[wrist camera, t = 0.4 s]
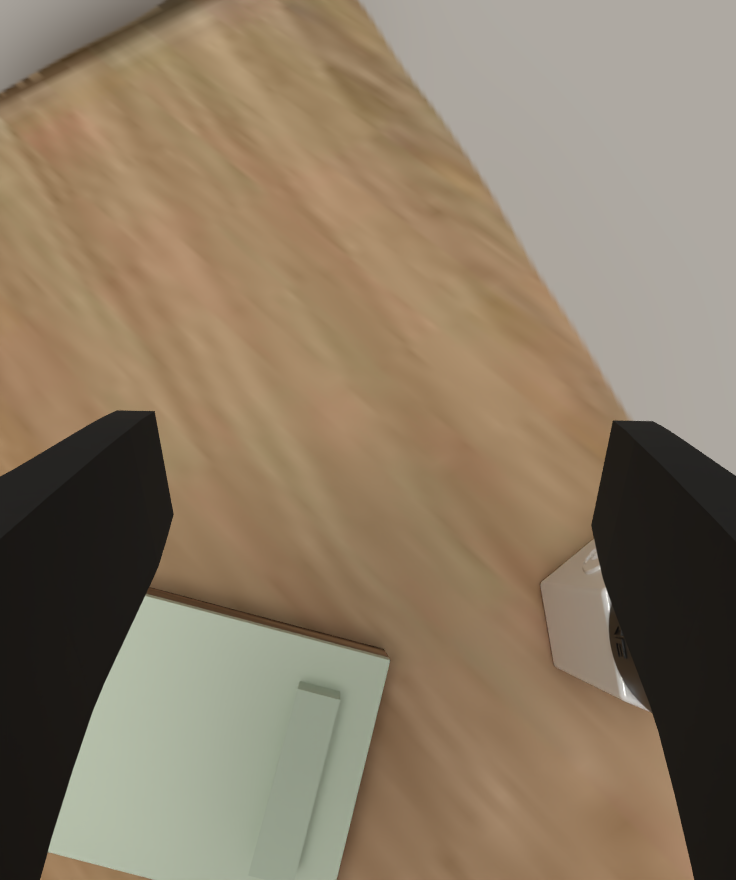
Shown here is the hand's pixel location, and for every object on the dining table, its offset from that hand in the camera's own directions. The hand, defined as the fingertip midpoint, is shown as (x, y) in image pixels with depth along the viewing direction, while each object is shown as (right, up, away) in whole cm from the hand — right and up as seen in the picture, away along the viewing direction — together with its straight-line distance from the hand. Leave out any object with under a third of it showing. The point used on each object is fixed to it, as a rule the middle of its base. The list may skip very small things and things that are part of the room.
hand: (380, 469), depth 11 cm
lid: (-9, -14, +23) cm, 28 cm away
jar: (+14, -9, +28) cm, 33 cm away
